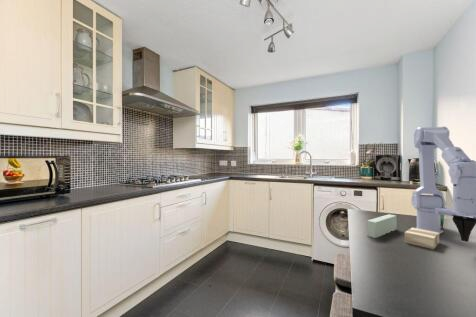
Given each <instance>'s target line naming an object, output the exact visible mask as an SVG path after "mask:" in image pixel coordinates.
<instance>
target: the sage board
mask: <svg viewBox="0 0 476 317" xmlns="http://www.w3.org/2000/svg"><path fill="white" fill-rule="evenodd" d="M397 218H398V216H397V215H396V214H395V215H394V214H389V213H388V214H385V215H381V216H378V217H374V218H371V219H367V221H366V236H367V237H369V238H373V239H377V238H379V237H381V236H384V235H386V233H387V234H389V233H392V232H394V231H396V230H397V226H398V225H397ZM391 231H392V232H391Z"/></svg>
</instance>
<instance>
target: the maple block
mask: <svg viewBox="0 0 476 317" xmlns="http://www.w3.org/2000/svg"><path fill="white" fill-rule="evenodd" d="M404 243H407V244H410V245H413V246H419V247H422V248H425V249H430V250H434V249H435V248H436V247H437V246H438V245H439V244H440V234H439V233H438V232H433V231H428V230H423V229H418V228H417V227H413V226H412V227H411V228H409V229H407V230H406V231H404Z"/></svg>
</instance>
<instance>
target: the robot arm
mask: <svg viewBox="0 0 476 317" xmlns="http://www.w3.org/2000/svg"><path fill="white" fill-rule="evenodd" d="M414 131H415V132H414V133H413V145H414V148H416V149H417V150H418V161H419V162H418V167H419V187H417V188H416V189H414V190H413V191H412V197H411V206H412V208H414V209H415V210H416V228H418V229H423V230H428V231H433V232H438V233H439V235H440V234H442V233H444V230H443V229H442V230H440V225H441V217H440V214H442V215H445V216H450V217H452V221H453V223H454V225H455V226H456V228H457V230H458V233H459V236H460V241H462V242H467V243H468V242H469V239H470V237H471V234H472V231H473V230H474V228H475V226H476V161H475V160H473V159H471V158H470V157H469V156H468V155H467V154H466V153H465V151H464V150H463V149H462V148H461V147H458V146H455V145H454V144H453V142H452V141H451V139H450V129H449V128H448V127H447V126H433V127H432V126H427V127H426V126H425V127H424V126H419V127H417V128H416V129H415V130H414ZM436 149H440V150H441V151H442V152H441V158H442V159H443V160H444V162H445V163H446V165H447V166H448V174H449V177H450V182H451V183H450V184H452V209H450V208H446V199H445V197H444V192H443V191H441V190H439V189H438V188H437V186H436V171H435V155H434V152H435V150H436ZM444 208H446V209H444Z"/></svg>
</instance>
